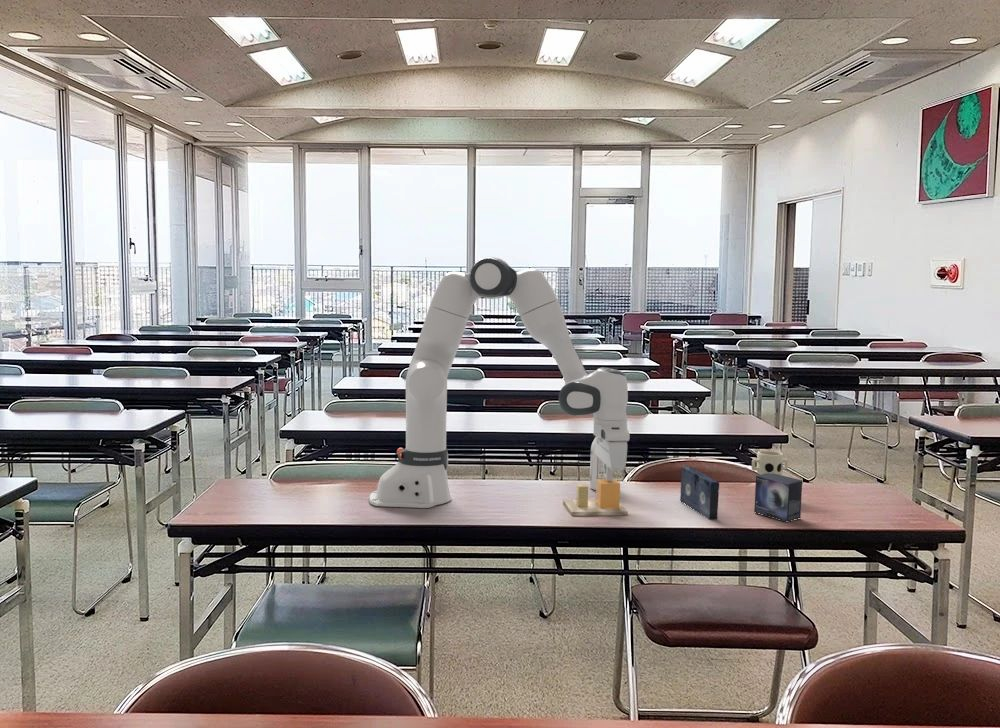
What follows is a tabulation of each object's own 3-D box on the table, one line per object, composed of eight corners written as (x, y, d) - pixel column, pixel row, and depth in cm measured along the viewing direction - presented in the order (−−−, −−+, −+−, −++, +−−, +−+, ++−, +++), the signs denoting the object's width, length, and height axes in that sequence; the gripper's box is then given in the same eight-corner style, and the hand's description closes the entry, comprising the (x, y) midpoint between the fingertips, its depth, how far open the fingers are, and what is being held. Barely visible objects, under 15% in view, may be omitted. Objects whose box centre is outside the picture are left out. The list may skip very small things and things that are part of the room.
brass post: (578, 507, 226) (578, 486, 226) (576, 504, 229) (576, 484, 228) (587, 506, 226) (588, 486, 226) (585, 504, 229) (586, 484, 228)
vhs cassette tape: (718, 519, 221) (719, 482, 220) (707, 520, 220) (709, 482, 219) (689, 501, 238) (691, 466, 237) (679, 501, 238) (681, 466, 237)
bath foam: (618, 489, 250) (620, 422, 248) (601, 492, 246) (604, 424, 244) (601, 484, 255) (603, 418, 253) (584, 487, 251) (586, 421, 249)
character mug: (755, 500, 240) (758, 455, 238) (744, 494, 247) (747, 450, 245) (791, 500, 241) (794, 455, 240) (780, 493, 248) (782, 450, 247)
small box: (752, 513, 227) (754, 474, 226) (767, 509, 231) (769, 471, 230) (786, 523, 218) (788, 483, 217) (801, 519, 222) (803, 479, 221)
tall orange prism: (600, 508, 226) (600, 483, 225) (595, 502, 231) (596, 479, 230) (619, 507, 226) (620, 483, 225) (614, 502, 231) (615, 478, 231)
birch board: (571, 515, 221) (571, 511, 221) (563, 503, 233) (563, 499, 233) (627, 514, 223) (627, 511, 223) (616, 502, 235) (616, 499, 235)
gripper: (590, 422, 236) (588, 471, 238) (607, 435, 216) (606, 489, 217) (612, 422, 237) (610, 470, 238) (631, 435, 217) (630, 488, 218)
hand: (608, 479), depth 228 cm, fingers closed
